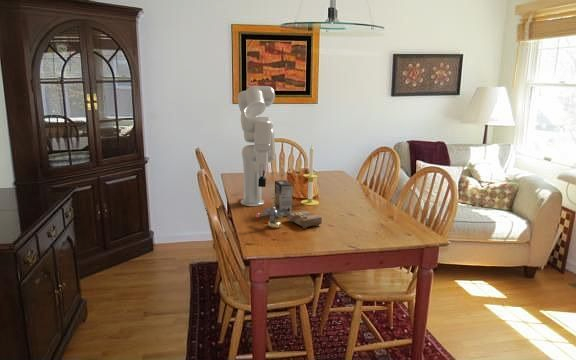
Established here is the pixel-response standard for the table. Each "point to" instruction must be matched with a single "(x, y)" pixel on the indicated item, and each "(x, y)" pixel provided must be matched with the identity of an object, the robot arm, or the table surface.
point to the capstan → (272, 216)
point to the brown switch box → (304, 218)
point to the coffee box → (283, 196)
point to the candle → (310, 181)
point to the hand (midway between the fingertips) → (262, 186)
